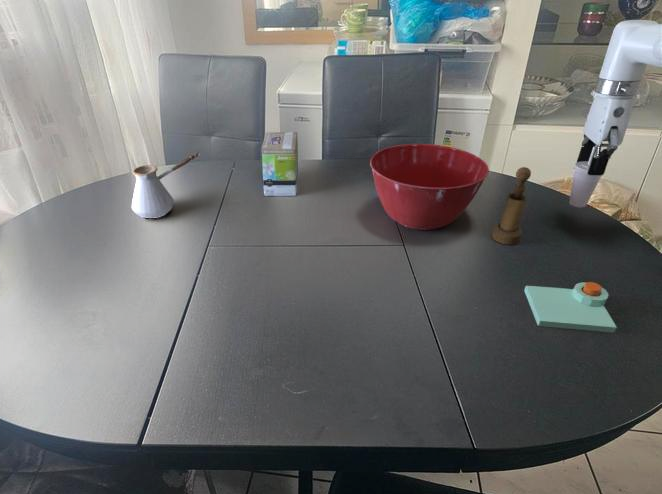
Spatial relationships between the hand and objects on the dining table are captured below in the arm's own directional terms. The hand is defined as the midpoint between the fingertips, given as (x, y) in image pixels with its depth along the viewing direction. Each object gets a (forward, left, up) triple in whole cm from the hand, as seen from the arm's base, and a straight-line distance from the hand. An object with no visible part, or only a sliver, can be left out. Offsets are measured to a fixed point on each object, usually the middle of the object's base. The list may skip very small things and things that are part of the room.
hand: (589, 168), depth 104 cm
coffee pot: (+105, +3, -16) cm, 107 cm away
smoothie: (0, 0, -9) cm, 9 cm away
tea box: (+77, -16, -16) cm, 81 cm away
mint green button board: (+10, +35, -16) cm, 39 cm away
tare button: (+6, +32, -13) cm, 35 cm away
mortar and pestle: (+16, +8, -16) cm, 24 cm away
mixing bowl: (+36, 0, -16) cm, 40 cm away
